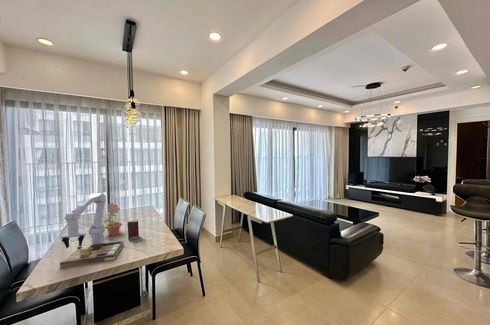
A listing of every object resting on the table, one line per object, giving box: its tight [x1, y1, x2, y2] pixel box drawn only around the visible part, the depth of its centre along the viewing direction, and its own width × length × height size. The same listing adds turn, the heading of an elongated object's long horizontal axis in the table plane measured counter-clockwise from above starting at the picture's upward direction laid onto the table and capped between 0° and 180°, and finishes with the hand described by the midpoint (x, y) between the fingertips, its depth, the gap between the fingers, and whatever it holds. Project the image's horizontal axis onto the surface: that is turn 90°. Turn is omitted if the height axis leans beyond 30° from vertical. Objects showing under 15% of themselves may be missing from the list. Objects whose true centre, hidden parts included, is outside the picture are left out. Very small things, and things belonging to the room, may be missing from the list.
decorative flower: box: [104, 202, 123, 236], centre depth 188 cm, size 15×14×30 cm
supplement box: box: [127, 219, 140, 241], centre depth 179 cm, size 9×5×16 cm, turn 120°
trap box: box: [59, 240, 125, 268], centre depth 150 cm, size 24×32×4 cm
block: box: [80, 244, 92, 256], centre depth 148 cm, size 5×5×5 cm
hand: (74, 246), depth 144 cm, fingers open, 7 cm apart
